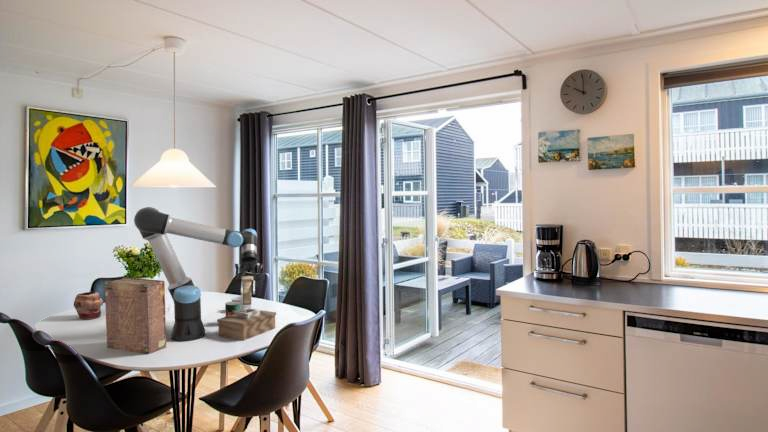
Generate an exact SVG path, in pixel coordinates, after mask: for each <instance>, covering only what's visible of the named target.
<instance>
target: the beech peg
mask: <svg viewBox="0 0 768 432" xmlns="http://www.w3.org/2000/svg"><path fill="white" fill-rule="evenodd" d="M241 280H242V281H243V305H251V306H252V291H253V283H252V282H253V280H254V277H253V275H244V276H242V277H241Z"/></svg>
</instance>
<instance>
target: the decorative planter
mask: <svg viewBox="0 0 768 432" xmlns="http://www.w3.org/2000/svg"><path fill="white" fill-rule="evenodd" d="M103 305H104V300H103V299H102V297H101V296H100V294H99V292H97V291H87V292H82V293H81V292H80V293H78V294H76V296H75V297H74V301H73V307H74V309H75V311H76V313H77V316H78V317H79V319H80V320H93V319H97V318H100V317H101V314H102V310H101V307H102V306H103Z"/></svg>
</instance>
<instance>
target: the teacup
mask: <svg viewBox="0 0 768 432" xmlns="http://www.w3.org/2000/svg"><path fill="white" fill-rule="evenodd" d="M231 301H240V302H241V310H242V309H245V308H250V309H252V304H251V305H243V295H240V296H239V295H238V296H234V297H232V298H231Z"/></svg>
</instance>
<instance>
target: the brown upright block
mask: <svg viewBox="0 0 768 432" xmlns="http://www.w3.org/2000/svg"><path fill="white" fill-rule="evenodd" d="M165 284H166V283H165V280H160V279H158V280H157V279H146V278H134V277H122V278H121V279H115V280H104V295H105V296H104V301H105V302H104V303H105V304H104V305H105V328H106V347H107V348H109V349H114V350H121V351H128V352H134V353H135V352H136V353H141V354H148V355H149V354H153V353H155V352H157V351H160V350H163V349H164V348H167V333H166V331H167V330H166V329H167V328H166V326H167V325H166V296H165V295H166V294H165V293H166V292H165V291H166V290H165V287H166V286H165Z"/></svg>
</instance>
